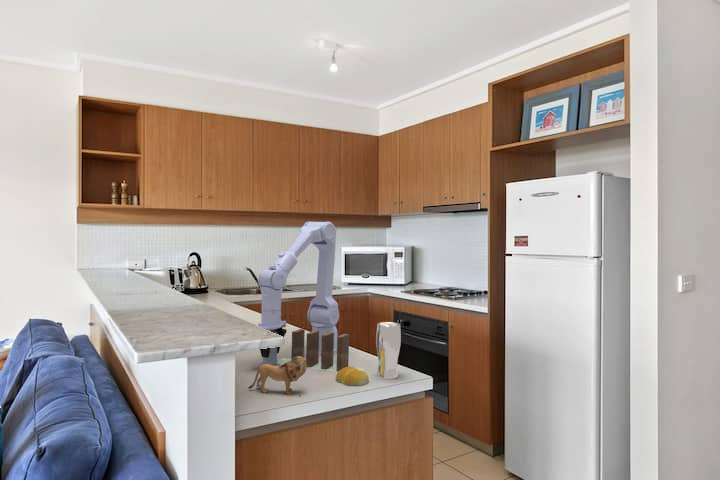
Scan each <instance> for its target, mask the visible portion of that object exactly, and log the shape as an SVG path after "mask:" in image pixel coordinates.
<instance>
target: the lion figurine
mask: <svg viewBox="0 0 720 480" xmlns="http://www.w3.org/2000/svg"><path fill="white" fill-rule="evenodd" d="M306 372H307V368H306V358H305V357H304V358H303V357H301V356H297V357H295V358H293V359H292V360H291V361H289V362H286V363H284V364H283V365H280V366H278V365H277V366H276V365H273V366H272V365H270V364H263V363H262V364H261V365H260V366H259V367H258V369H257V371H256V372H255V373H256V374H255V378H254V380H253V383H252V384H251V385H250V386H248V387H247V389H248V390H249V389H253V388H254V386H255V385H256V389H259V390H260V389H261V391H262V393H263V394H267V393H268V392H269V390H268V389H266V388H265V384H266V381H267V378H269V379H271V380H273V381H274V382H284V384H285V386H284V387H285V393H286V395H292V391H293V388H292V387H291V383H292V382H297V381H298V380H299V379H300V377H302V376H304V375H305V373H306ZM290 387H291V388H290Z"/></svg>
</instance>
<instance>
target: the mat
mask: <svg viewBox="0 0 720 480" xmlns="http://www.w3.org/2000/svg"><path fill="white" fill-rule="evenodd" d="M289 361H291V358H288V357H287V358H286V357H283V358H280V359H277V364H276V365H280V366H282V365H283V364H284V363H286V362H289ZM336 368H337V364H333V366H331V367H330V368H328V369H326V370H325V369H321V362H318V364H317V365H315V366H313V367H311V368H310V367H306V369H309V370H316V371H323V372H330V373H336V374H337V373H338V372H339V371H336ZM354 368H356V369H358V370H359V371H364V372H365V370H366V368H361V367H354Z"/></svg>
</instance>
